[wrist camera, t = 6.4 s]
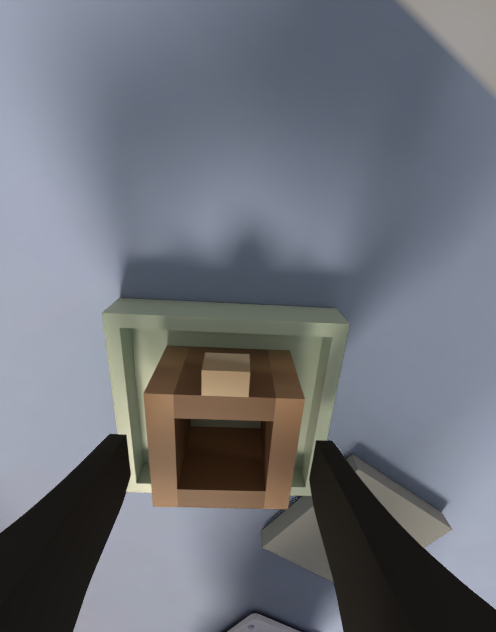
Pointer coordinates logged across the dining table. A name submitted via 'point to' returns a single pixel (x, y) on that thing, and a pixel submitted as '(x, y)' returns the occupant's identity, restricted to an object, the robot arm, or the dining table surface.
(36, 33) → the dining table surface
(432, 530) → the grey square peg base
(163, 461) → the brown hollow square box
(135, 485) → the tray
